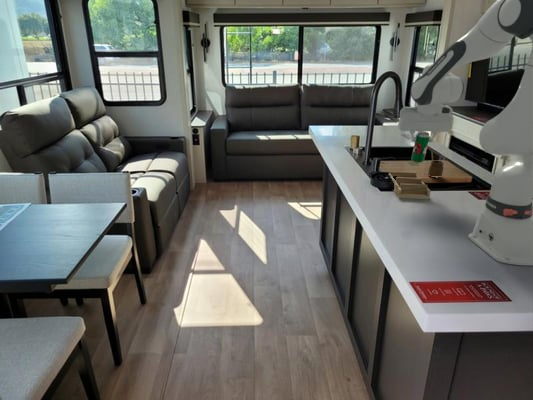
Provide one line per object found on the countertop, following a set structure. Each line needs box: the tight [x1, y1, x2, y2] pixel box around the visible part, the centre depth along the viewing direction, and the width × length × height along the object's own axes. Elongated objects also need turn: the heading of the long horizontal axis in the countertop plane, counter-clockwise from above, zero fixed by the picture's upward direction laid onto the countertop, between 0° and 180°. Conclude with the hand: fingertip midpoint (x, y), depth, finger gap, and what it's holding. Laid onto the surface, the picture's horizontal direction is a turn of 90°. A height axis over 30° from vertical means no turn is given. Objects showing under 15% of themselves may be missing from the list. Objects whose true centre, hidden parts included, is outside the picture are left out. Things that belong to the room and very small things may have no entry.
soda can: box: [411, 131, 431, 163], centre depth 157 cm, size 5×5×12 cm
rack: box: [387, 170, 431, 200], centre depth 162 cm, size 20×12×5 cm, turn 176°
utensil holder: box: [428, 150, 446, 177], centre depth 176 cm, size 6×6×12 cm
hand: (421, 141), depth 156 cm, fingers closed on soda can, 5 cm apart
